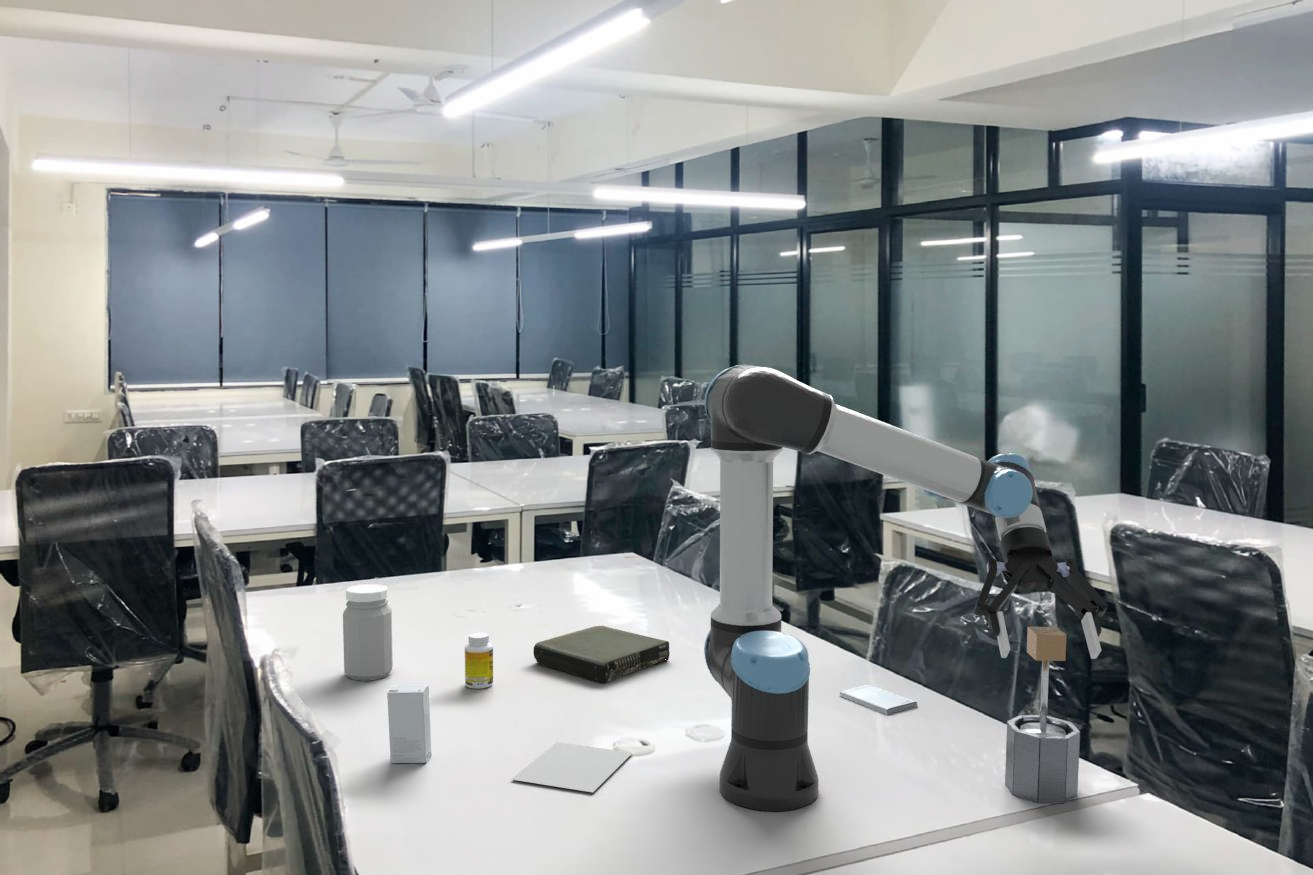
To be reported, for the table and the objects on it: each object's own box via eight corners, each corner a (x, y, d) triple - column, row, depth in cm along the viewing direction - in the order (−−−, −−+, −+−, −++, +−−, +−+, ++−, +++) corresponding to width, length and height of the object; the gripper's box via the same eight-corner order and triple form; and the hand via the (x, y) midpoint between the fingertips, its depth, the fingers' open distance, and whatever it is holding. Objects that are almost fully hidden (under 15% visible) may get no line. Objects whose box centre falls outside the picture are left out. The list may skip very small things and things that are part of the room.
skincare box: (432, 754, 179) (430, 683, 178) (426, 764, 175) (424, 692, 174) (395, 753, 180) (393, 683, 178) (388, 764, 175) (386, 691, 174)
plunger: (1027, 742, 162) (1031, 636, 161) (1014, 727, 169) (1018, 624, 167) (1072, 743, 162) (1076, 636, 161) (1057, 727, 169) (1061, 625, 167)
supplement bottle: (494, 688, 213) (493, 638, 212) (465, 690, 212) (465, 639, 211) (492, 679, 218) (491, 630, 217) (464, 681, 217) (463, 632, 216)
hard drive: (917, 700, 204) (869, 683, 214) (887, 709, 199) (839, 690, 209) (917, 709, 204) (869, 691, 214) (886, 717, 199) (839, 698, 209)
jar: (333, 676, 220) (331, 589, 219) (371, 664, 228) (369, 580, 227) (365, 684, 215) (363, 596, 213) (403, 672, 223) (401, 586, 221)
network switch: (614, 689, 214) (614, 664, 214) (523, 669, 227) (523, 645, 226) (676, 660, 234) (676, 637, 233) (589, 643, 246) (589, 621, 246)
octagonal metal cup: (1018, 802, 162) (1020, 737, 161) (999, 775, 171) (1001, 714, 170) (1084, 803, 161) (1087, 738, 160) (1061, 776, 171) (1064, 715, 170)
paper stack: (458, 775, 172) (458, 770, 172) (529, 722, 195) (529, 718, 195) (592, 796, 164) (592, 792, 164) (650, 739, 187) (650, 735, 187)
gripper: (1093, 550, 180) (1126, 666, 166) (942, 549, 180) (963, 664, 167) (1107, 525, 174) (1142, 642, 160) (951, 523, 174) (973, 640, 161)
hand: (1051, 654), depth 163 cm, fingers open, 13 cm apart
